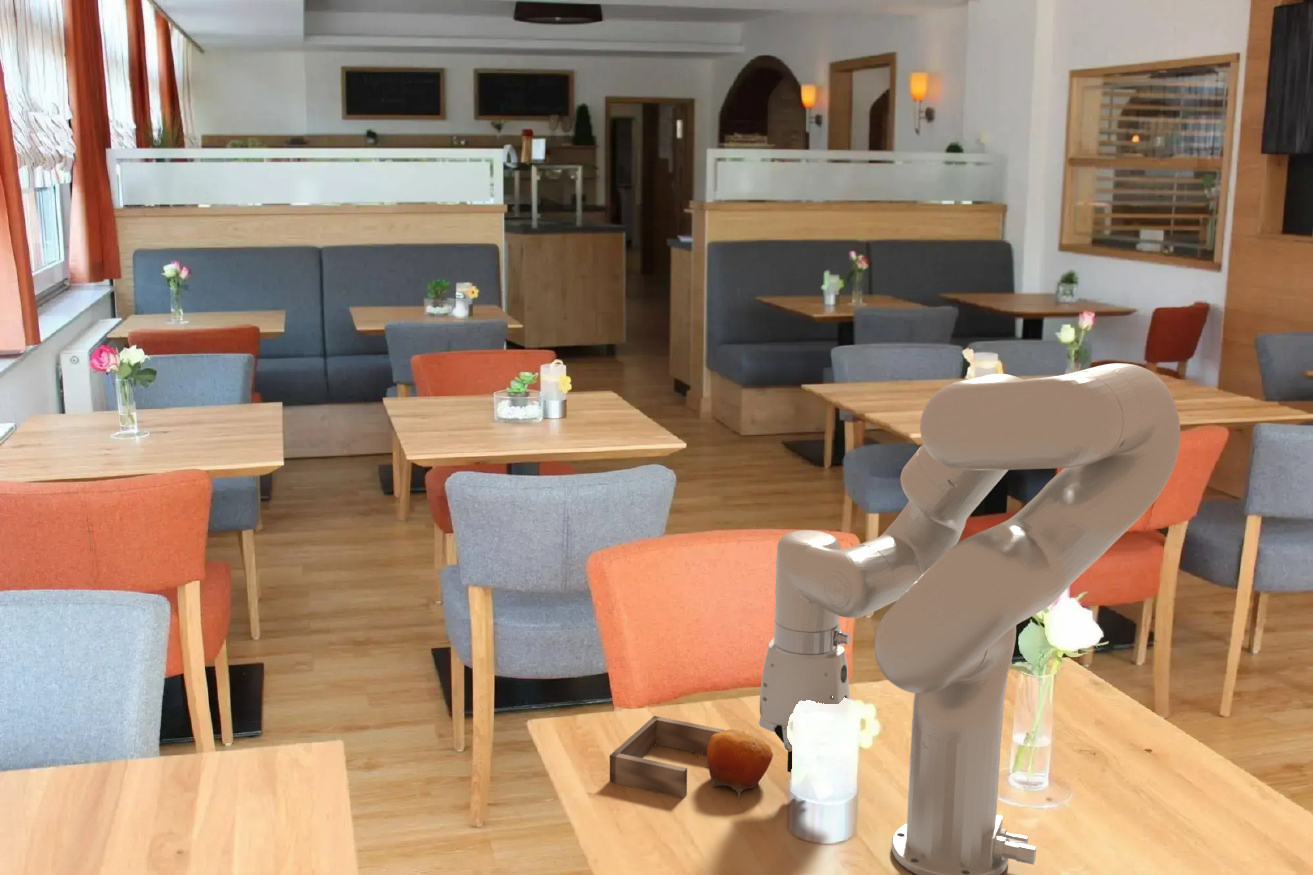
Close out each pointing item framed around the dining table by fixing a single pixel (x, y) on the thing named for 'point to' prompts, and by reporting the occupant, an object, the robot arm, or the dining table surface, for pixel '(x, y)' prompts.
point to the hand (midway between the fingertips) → (800, 779)
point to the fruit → (737, 759)
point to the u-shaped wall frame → (653, 774)
